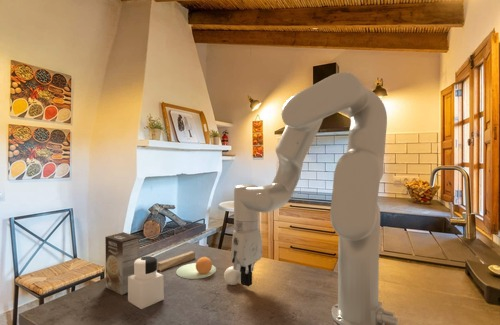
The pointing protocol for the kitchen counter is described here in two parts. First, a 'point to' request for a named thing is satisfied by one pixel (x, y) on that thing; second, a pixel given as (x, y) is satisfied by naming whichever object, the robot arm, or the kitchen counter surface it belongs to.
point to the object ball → (203, 265)
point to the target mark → (193, 272)
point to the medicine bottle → (145, 283)
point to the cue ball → (232, 276)
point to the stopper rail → (175, 260)
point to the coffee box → (120, 260)
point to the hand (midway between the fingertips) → (246, 284)
